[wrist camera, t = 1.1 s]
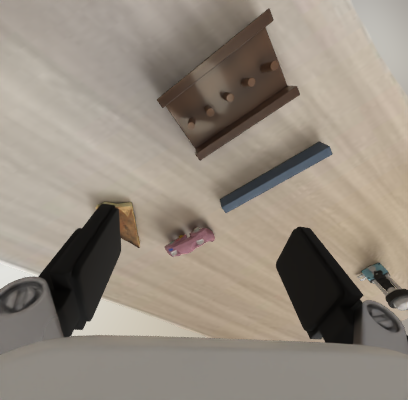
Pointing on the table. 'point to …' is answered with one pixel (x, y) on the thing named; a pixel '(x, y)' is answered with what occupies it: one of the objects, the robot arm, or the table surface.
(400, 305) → the push button
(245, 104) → the rack
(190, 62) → the table surface
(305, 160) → the bar
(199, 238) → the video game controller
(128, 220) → the golden brown flat wedge
